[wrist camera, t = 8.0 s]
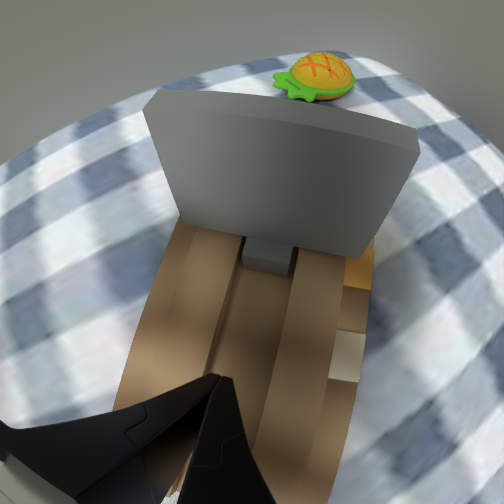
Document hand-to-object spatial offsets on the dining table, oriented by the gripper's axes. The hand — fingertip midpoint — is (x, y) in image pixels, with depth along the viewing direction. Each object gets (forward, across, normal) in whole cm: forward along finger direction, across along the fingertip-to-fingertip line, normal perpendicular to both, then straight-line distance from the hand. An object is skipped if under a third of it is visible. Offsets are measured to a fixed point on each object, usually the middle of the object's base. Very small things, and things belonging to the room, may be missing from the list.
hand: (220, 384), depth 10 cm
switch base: (+8, 0, -4) cm, 9 cm away
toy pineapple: (+27, +1, +15) cm, 31 cm away
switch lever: (+11, 0, +2) cm, 12 cm away
